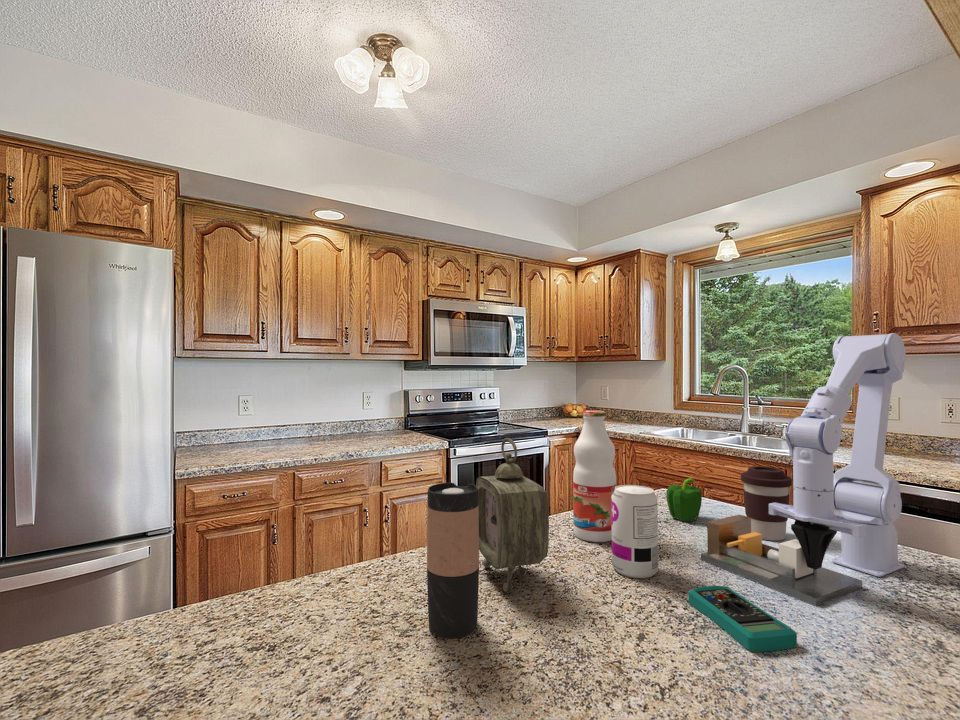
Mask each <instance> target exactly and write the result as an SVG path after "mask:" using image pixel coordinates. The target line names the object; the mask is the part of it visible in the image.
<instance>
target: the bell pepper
mask: <svg viewBox="0 0 960 720" xmlns="http://www.w3.org/2000/svg"><path fill="white" fill-rule="evenodd" d="M694 482H695V478H694V479H693V478H691V477H690V478H686V479H685V480H684V481H683V483H682V485H681V486H680V485H679V484H675V483H673V484H671V485H670V486H668V487H667V489H666V493H665V494H666V502H667V506H668V507H667V508H668V511H669V514H670V516H671V517H672V519H673V518H674V519H677V520H680V521H681V522H694V521H695V520H696V519H698V518H699V515H700V511H701V507H702V499H703V495H702V493H703V492H702V490H701V488H700V487H696V486H693V485H691V484H689V483H694Z"/></svg>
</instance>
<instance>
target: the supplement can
mask: <svg viewBox="0 0 960 720" xmlns="http://www.w3.org/2000/svg"><path fill="white" fill-rule="evenodd" d="M658 500H659V499H658V496H657V495H656V493H655V490H654V489H653V488H651V487H648V486H644V485H637V484H623V485H616V487H615V491H614V492H613V494H612V496H611V519H612V540H611V566H612V567H613V569H615V571H616V572H617V573H618V574H620V575H622V576H625V577H629V578H633V579H648V578H651V577H653V576H654V575H656V573H657V572H659V532H658V531H659V529H658V528H659V524H658V523H659V517H658V515H659V514H658V513H659V511H658V508H659V507H658V505H659V504H658Z"/></svg>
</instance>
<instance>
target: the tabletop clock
mask: <svg viewBox="0 0 960 720" xmlns="http://www.w3.org/2000/svg"><path fill="white" fill-rule="evenodd" d="M506 442H507V443H509V444H511V447H512V448H513V451H514V456H513V455H512V453H507V454H506V452H505V450H504V449H505V444H506ZM500 448H501V455H502V457H503V458H504V460H505V462H504V463H502V464H500V465H499V466H498V467H497V468H496V469H495V472H494V475H486V476H485V475H484V476H478V477H477V478H476V482H475V486H477V487H478V508H479V553H480V554H481V555H482V556H483V558H484V559H483V561H482V566H483V568H487V569H488V568H490V567H492V568H493V569H495V570H502V569H507V579H506V581H505V582H504V583H503V585H502V588H503V589H502V590H503V591H504V593H510V592H512V591H513V584H512V583H511V581H512V577H513V574H514V571H515V569H516V575H518V576H519V577H524V576H525V574H526V569H525V567H526V566H531V565H537V564H541V563H542V562H543V560H545V558H547V556H548V555H549V554H548V553H549V544H550V540H549V539H550V515H549V514H550V513H549V509H550V508H549V499H548V493H547V491H546V490H545V488H544V487H543V486H541V485H540V484H539V483H537V482H535V481H534V480H532V479H530V478H528V477H525V475H524V474H523V471H522V469H521V468H520V466H519V464H517V463H514V462H516V460H517V458H518V450H517V445H516V442H515V441H514V440H513V439H511V438H509V437H505V438H504V439H502V442H501V447H500ZM524 566H525V567H524Z"/></svg>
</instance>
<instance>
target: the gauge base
mask: <svg viewBox="0 0 960 720" xmlns="http://www.w3.org/2000/svg"><path fill="white" fill-rule="evenodd" d="M706 524H707V525H706V526H707V527H706V529H707V532H706V533H707V536H706V537H707V543H706V544H707V552H703V553H700V561H703V562H704V561H705V562H704V563H707V564H709V563H710V565H713V566H714V567H716V568H719V567H720V569H723V570H724V569H725V571H727V572H729V571H730V573H732V572H733V573H732V574H734V573H735V575H737V576H739V575H740V576H739V577H742V578H744V577H745V579H747V578H748V579H747V580H749V579H751V580H750V581H752V580H753V581H752V582H754V581H756V582H755V583H757V582H758V583H757V584H759V583H761V584H760V585H762V584H763V585H762V586H764V585H765V587H767V588H769V587H770V588H769V589H772V588H773V589H772V590H774V589H775V591H777V590H778V591H777V592H779V591H780V593H782V592H783V593H782V594H784V593H785V595H787V594H788V595H787V596H789V595H790V597H792V596H793V597H792V598H794V597H795V598H794V599H797V600H799V599H800V601H802V602H804V603H807V604H810V605H812V606H814V607H818V606H820V605H822V604H825V603H827V602H830V601H832V600H835V599H838V598H840V597H843V596H845V595H847V594H851V593H853V592H855V591H858V590H860V589H863V579H859V578H856V577H852V576H850V575H846V574H843V573H840V572H838V571H834V570H832V569H828V568H826V567H823V566H822V567H821V568H818V569H813V573H811V574H808V575H805V576H802V577H799V578H795V568H793V567H790V566H787V565H784V564H781V563H778V562H776V561H773V560H770V559H768V556H767V555H768V551H769V550H770V549H772V550H775V551H779V547H778V548H777V547H774V546H771V545H768V544H766V543H762V555H761V556H758V555H755V554H753V553H750V552H747V551H744V550H741V549H738V545H735V546H732V547H728V546H727V543H730V542H734V541H738V536H741V535H745V534H749V533H751V518H750V517H747V516H746V515H743V514H736V515H732V516H727V517H722V518H717V519H713V520H709V521H707V522H706ZM817 605H818V606H817Z"/></svg>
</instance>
